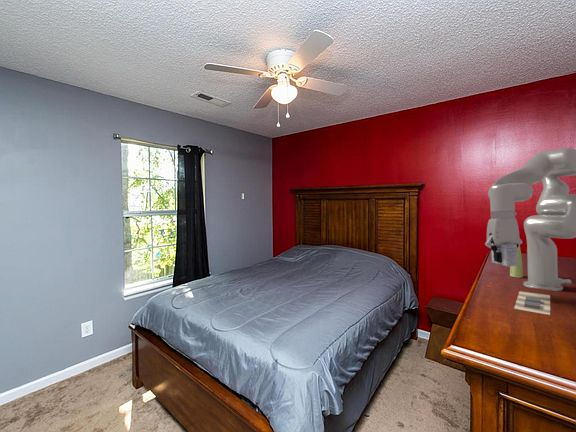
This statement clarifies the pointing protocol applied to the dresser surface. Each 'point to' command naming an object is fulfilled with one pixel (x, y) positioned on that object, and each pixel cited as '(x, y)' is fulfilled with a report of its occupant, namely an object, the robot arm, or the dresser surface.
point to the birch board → (544, 298)
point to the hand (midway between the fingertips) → (504, 260)
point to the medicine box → (507, 255)
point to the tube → (517, 270)
